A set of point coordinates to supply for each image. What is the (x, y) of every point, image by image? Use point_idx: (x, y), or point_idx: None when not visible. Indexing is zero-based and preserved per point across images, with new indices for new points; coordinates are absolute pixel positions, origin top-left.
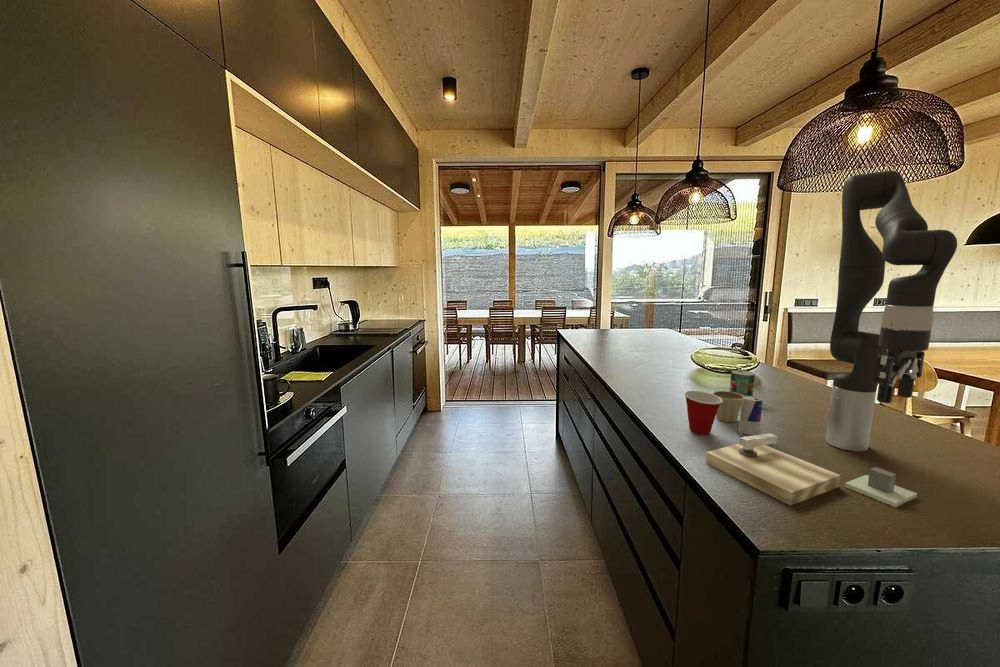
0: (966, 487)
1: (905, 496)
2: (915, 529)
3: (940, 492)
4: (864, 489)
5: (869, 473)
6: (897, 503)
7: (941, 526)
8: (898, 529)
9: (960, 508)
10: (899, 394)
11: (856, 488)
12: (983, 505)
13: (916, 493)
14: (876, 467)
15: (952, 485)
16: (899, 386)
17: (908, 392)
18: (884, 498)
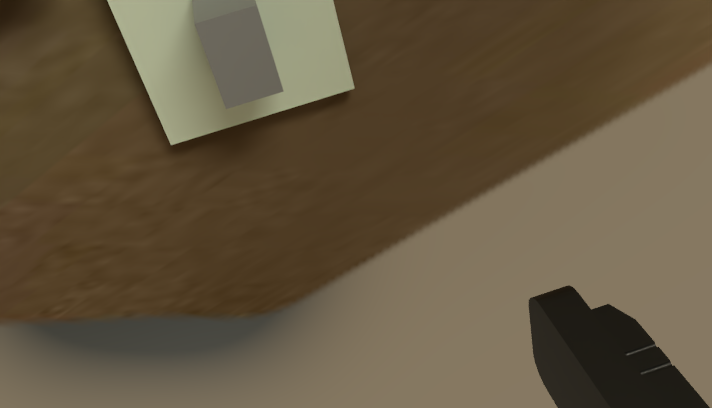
0: (654, 34)
1: (274, 103)
2: (102, 254)
3: (502, 54)
4: (133, 27)
5: (194, 15)
6: (183, 139)
7: (222, 242)
8: (32, 252)
9: (429, 158)
10: (538, 314)
11: (108, 2)
12: (534, 148)
13: (352, 87)
14: (257, 9)
15: (624, 12)
16: (591, 386)
17: (566, 404)
18: (155, 109)
